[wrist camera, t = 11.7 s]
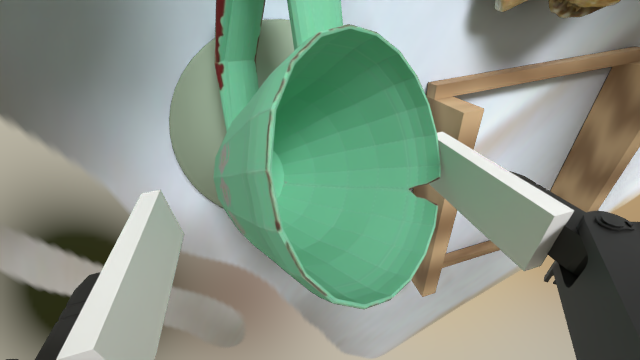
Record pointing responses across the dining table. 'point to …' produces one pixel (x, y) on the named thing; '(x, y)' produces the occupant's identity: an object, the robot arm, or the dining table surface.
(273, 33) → the coaster
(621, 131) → the oak frame
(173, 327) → the dining table surface
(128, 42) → the dining table surface
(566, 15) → the seashell
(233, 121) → the mug
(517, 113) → the dining table surface
